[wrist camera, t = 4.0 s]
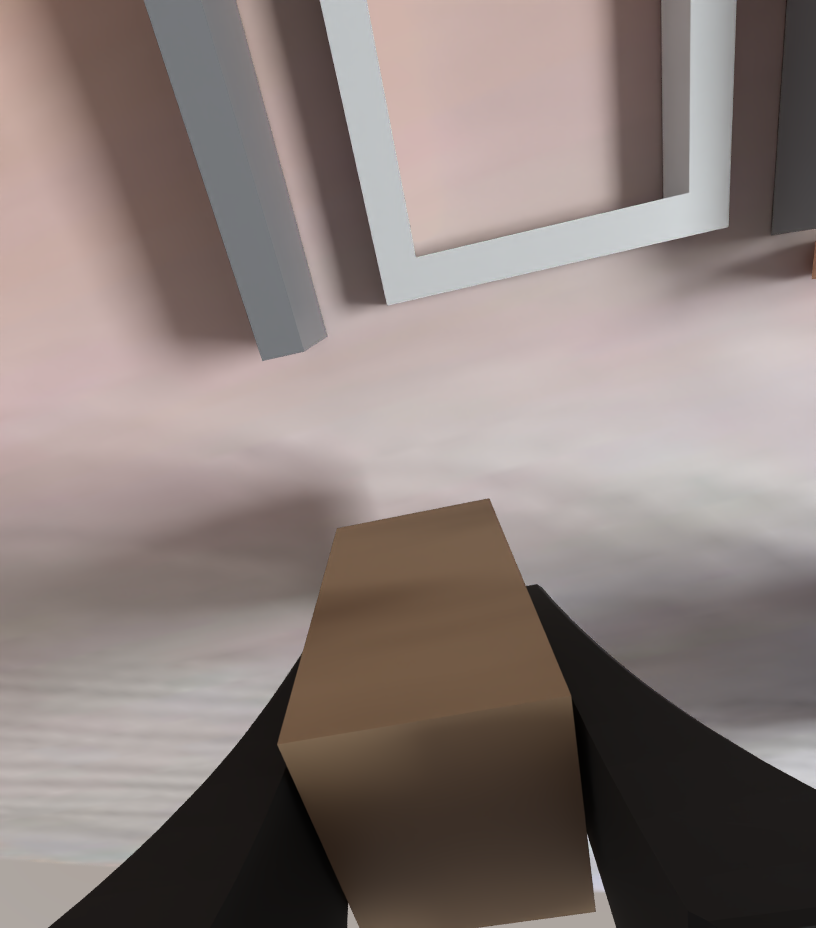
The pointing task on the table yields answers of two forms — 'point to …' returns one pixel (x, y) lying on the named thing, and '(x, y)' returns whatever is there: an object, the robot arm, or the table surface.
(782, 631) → the table surface
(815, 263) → the orange-brown plank
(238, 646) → the table surface
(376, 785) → the block
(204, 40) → the frame
